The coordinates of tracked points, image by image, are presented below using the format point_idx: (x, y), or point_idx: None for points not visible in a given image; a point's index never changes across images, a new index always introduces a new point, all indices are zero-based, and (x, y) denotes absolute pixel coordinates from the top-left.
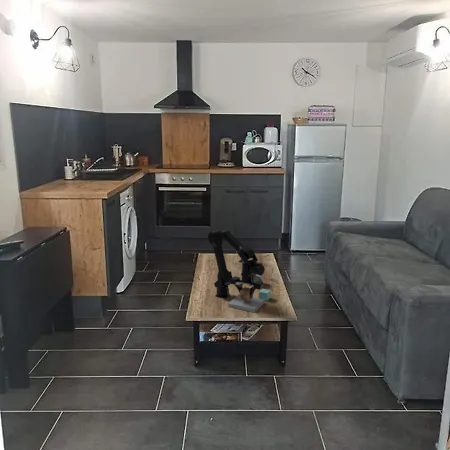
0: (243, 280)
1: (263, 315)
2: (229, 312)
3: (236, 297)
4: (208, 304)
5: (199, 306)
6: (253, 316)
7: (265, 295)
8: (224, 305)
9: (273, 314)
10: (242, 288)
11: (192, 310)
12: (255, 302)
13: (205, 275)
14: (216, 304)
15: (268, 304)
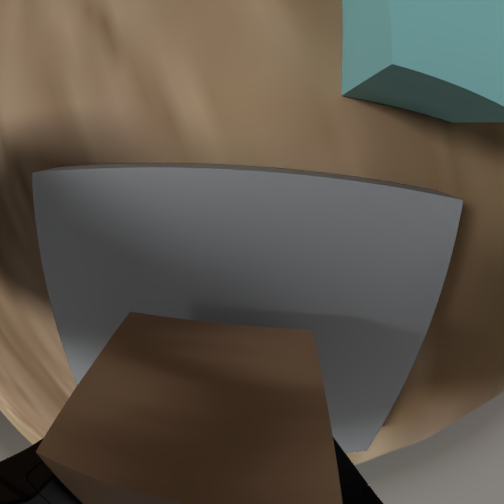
0: None
1: (429, 423)
2: None
3: (54, 283)
4: (7, 380)
5: (6, 404)
6: (359, 458)
7: (483, 113)
8: (71, 384)
9: (494, 379)
10: (80, 500)
11: (25, 437)
12: (360, 342)
13: None
14: (29, 376)
15: (480, 216)
